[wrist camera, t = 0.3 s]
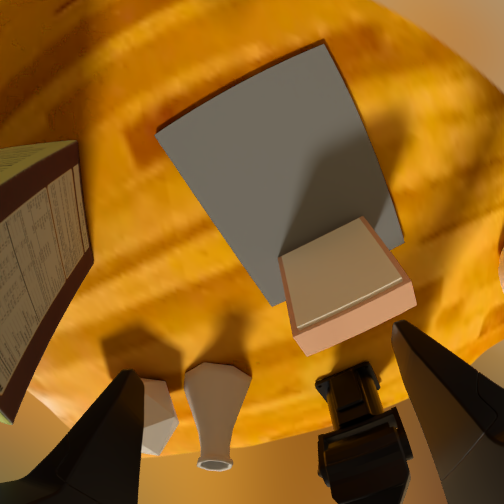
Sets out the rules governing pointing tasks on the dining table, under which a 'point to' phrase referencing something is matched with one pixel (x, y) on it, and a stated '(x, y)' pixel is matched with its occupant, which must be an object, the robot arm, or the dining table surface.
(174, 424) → the pale grey faceted chunk
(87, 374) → the dining table surface
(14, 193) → the protein box
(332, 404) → the robot arm
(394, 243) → the mat
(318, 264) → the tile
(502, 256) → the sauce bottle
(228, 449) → the flask
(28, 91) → the dining table surface
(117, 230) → the dining table surface
